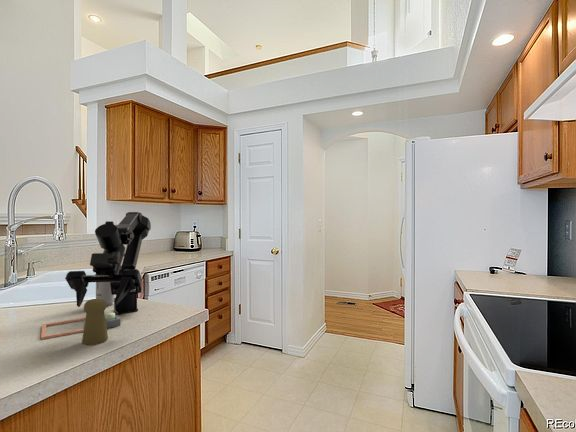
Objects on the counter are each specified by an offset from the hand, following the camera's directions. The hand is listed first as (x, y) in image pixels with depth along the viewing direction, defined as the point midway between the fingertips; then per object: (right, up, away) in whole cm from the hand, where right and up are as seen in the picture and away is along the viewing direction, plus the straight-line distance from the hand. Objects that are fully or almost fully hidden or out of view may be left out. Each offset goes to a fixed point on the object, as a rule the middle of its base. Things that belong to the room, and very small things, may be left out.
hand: (96, 305), depth 85 cm
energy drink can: (-17, -9, +33) cm, 39 cm away
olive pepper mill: (0, -9, -1) cm, 9 cm away
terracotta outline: (-13, -9, +9) cm, 18 cm away
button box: (-3, -9, +11) cm, 15 cm away
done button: (-3, -9, +11) cm, 15 cm away
